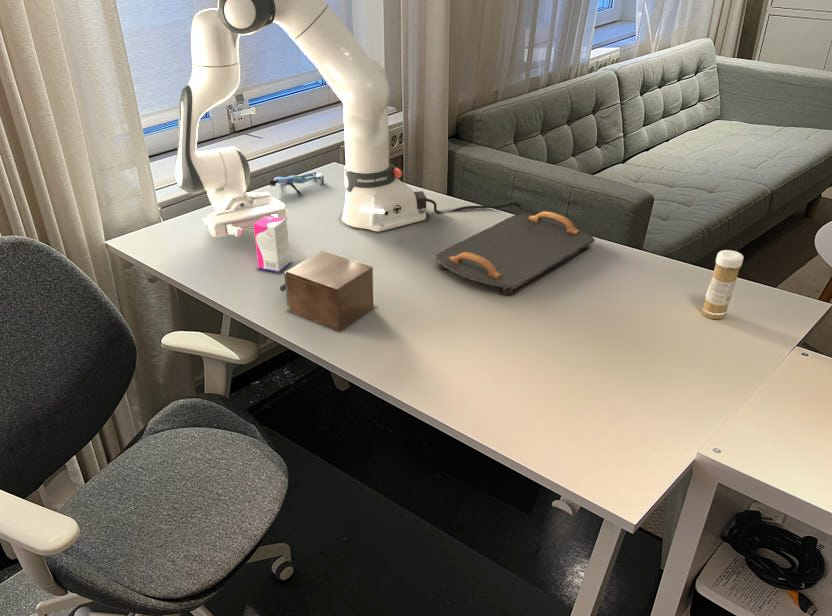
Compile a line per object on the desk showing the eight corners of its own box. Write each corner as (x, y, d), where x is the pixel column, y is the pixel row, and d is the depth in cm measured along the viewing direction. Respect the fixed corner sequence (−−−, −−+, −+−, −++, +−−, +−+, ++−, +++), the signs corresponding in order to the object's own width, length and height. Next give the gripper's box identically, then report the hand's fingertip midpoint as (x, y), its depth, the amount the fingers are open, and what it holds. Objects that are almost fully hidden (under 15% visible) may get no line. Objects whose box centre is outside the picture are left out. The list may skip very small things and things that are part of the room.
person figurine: (311, 182, 217) (259, 188, 207) (311, 168, 215) (259, 173, 205) (331, 192, 210) (278, 199, 200) (332, 177, 207) (279, 183, 198)
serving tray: (522, 220, 185) (524, 197, 181) (602, 245, 171) (606, 221, 167) (423, 270, 164) (424, 246, 160) (505, 304, 149) (508, 278, 146)
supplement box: (291, 263, 169) (287, 218, 162) (279, 273, 165) (274, 228, 158) (270, 259, 171) (265, 214, 165) (257, 269, 167) (252, 224, 160)
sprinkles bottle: (712, 306, 146) (729, 247, 138) (730, 316, 142) (749, 256, 135) (695, 312, 144) (712, 252, 137) (714, 322, 141) (732, 261, 133)
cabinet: (289, 311, 150) (285, 271, 145) (324, 289, 157) (321, 250, 152) (339, 331, 143) (337, 289, 138) (373, 307, 150) (372, 266, 145)
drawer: (273, 300, 153) (270, 267, 148) (305, 281, 159) (302, 249, 155) (332, 322, 144) (330, 289, 140) (363, 301, 151) (362, 269, 146)
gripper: (198, 206, 176) (215, 226, 166) (274, 190, 183) (295, 208, 173) (201, 230, 180) (219, 250, 169) (276, 213, 187) (297, 232, 177)
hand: (258, 229), depth 171 cm, fingers open, 8 cm apart
